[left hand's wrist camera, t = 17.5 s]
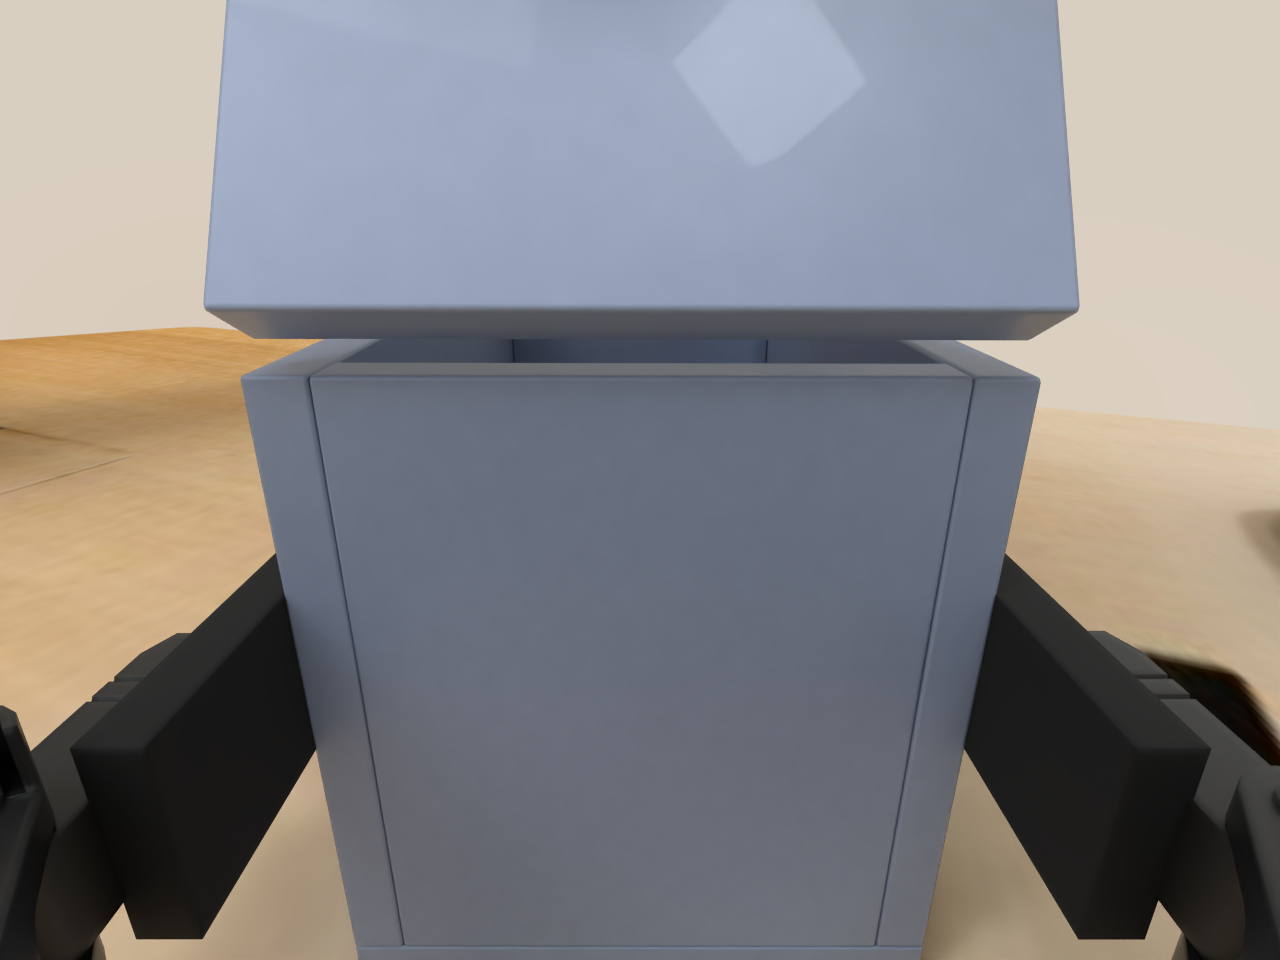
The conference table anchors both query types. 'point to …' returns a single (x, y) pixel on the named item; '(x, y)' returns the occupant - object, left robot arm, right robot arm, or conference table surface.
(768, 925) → the chest
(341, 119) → the lid
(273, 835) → the conference table surface
